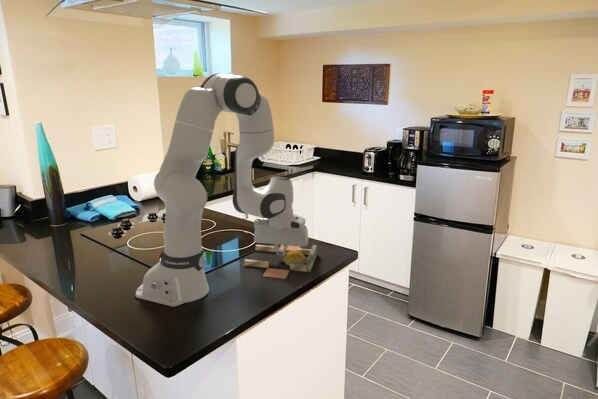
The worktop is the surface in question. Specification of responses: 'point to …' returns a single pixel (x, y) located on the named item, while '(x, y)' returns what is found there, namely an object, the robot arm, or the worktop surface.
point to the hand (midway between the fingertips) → (281, 254)
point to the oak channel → (296, 267)
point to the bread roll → (294, 258)
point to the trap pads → (279, 272)
